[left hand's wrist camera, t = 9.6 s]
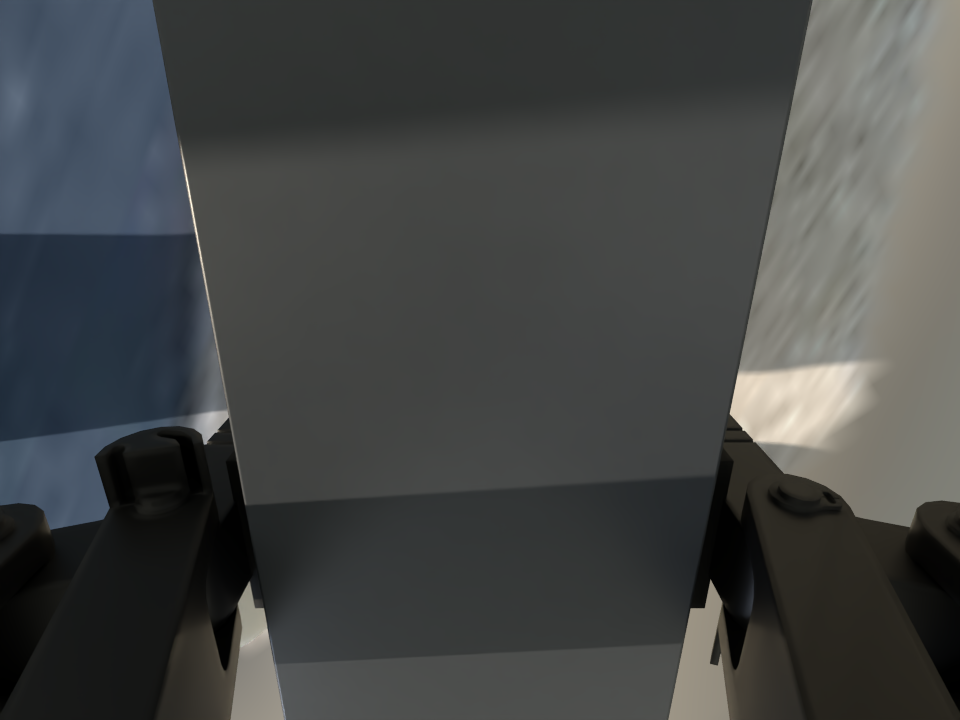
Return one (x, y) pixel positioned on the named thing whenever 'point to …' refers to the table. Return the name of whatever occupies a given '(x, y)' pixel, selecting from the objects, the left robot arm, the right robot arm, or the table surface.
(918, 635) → the left robot arm
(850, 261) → the table surface
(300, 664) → the post
